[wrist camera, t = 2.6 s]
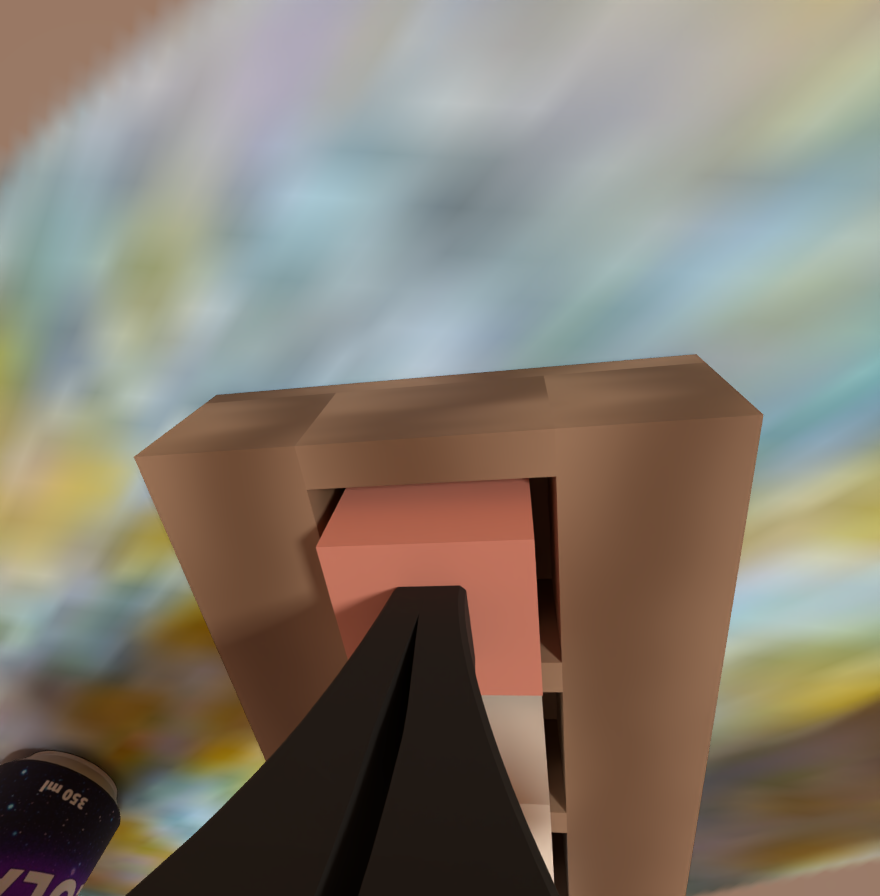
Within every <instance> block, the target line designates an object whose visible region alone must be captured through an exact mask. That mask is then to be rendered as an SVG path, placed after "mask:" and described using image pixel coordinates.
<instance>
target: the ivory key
mask: <svg viewBox="0 0 880 896" xmlns="http://www.w3.org/2000/svg"><path fill="white" fill-rule="evenodd" d="M481 696H482V700H483V703H484V706H485V710H486V713H487V716H488V719H489V722H490V726H491V729H492V732H493V735H494V738H495V741H496V743H497V746H498V749H499V752H500V755H501V758H502V760H503V763H504V766H505V768H506V771H507V774H508V776H509V779H510V782H511V784H512V787H513V789H514V792H515V794H516V797H517V799H518V802H519V804H520V807H521V809H522V812H523V814H524V816H525V819H526V821H527V824H528V826H529V828H530V831H531V833H532V835H533V837H534V839H535V842H536V844H537V846H538V848H539V851H540V853H541V855H542V857H543V860H544V862H545V864H546V866H547V869H548V871H549V873H550V875H551V877H552V880H553V882H554V872H553V853H552V835H551V816H550V800H549V786H548V773H547V760H546V746H545V733H544V720H543V706H542V696H514V695H481Z"/></svg>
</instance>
